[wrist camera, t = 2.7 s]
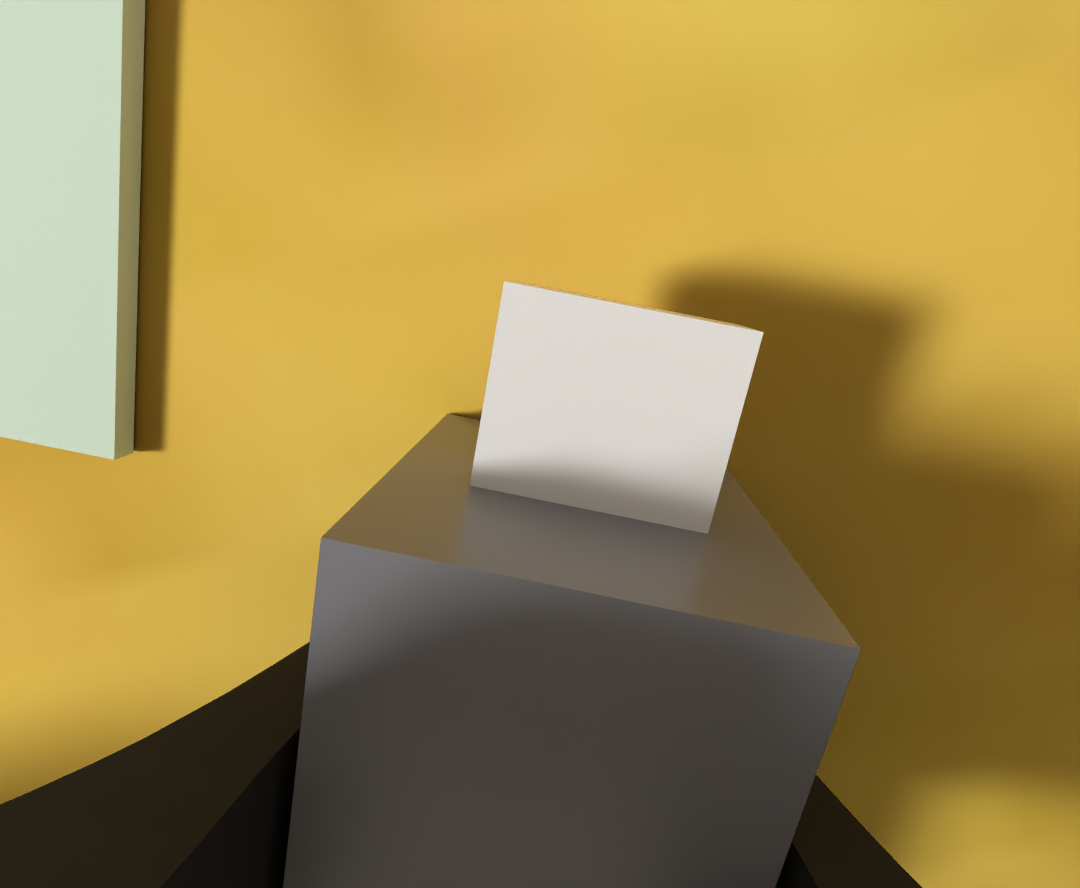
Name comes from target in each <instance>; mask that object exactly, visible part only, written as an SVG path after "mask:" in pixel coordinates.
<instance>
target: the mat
mask: <svg viewBox="0 0 1080 888" xmlns="http://www.w3.org/2000/svg"><path fill="white" fill-rule="evenodd" d="M144 31H145V0H0V437H5V438H10V439H15V440H20V441H25V442H30V443H35V444H40V445H44V446H49V447H54V448H59V449H64V450H69V451H74V452H79V453H83V454H88V455H93V456H98V457H103V458H108V459H113V460H115V459H118V458H120V457H123V456H125V455H128V454H131V453H133V445H134V408H135V370H136V332H137V295H138V257H139V219H140V182H141V144H142V106H143V69H144Z"/></svg>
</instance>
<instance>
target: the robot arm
mask: <svg viewBox="0 0 1080 888" xmlns="http://www.w3.org/2000/svg"><path fill="white" fill-rule="evenodd" d="M309 645H310V642H308V643H307V644H305V645H304V646H302V647H301V648H299V649H297V650H296V651H294V652H293V653H291V654H290V655H288V656H286V657H285V658H283V659H282V660H280V661H279V662H277V663H275V664H274V665H272V666H271V667H269V668H267V669H266V670H264V671H262V672H261V673H259V674H257V675H256V676H254V677H252V678H251V679H249V680H247V681H246V682H244V683H242V684H241V685H239V686H238V687H236V688H234V689H233V690H231V691H229V692H228V693H226V694H224V695H222V696H221V697H219V698H217V699H215V700H213V701H212V702H210V703H208V704H206V705H204V706H202V707H201V708H199V709H197V710H195V711H193V712H191V713H190V714H188V715H186V716H184V717H182V718H181V719H179V720H177V721H175V722H173V723H171V724H170V725H168V726H166V727H164V728H162V729H160V730H159V731H157V732H155V733H153V734H151V735H150V736H148V737H146V738H144V739H142V740H140V741H138V742H136V743H134V744H132V745H130V746H128V747H126V748H124V749H122V750H120V751H118V752H116V753H114V754H111V755H109V756H107V757H105V758H103V759H101V760H99V761H97V762H95V763H93V764H91V765H88V766H86V767H84V768H82V769H80V770H77V771H75V772H73V773H71V774H69V775H66V776H64V777H62V778H60V779H58V780H55V781H53V782H51V783H49V784H47V785H44V786H42V787H40V788H38V789H35V790H33V791H31V792H29V793H26V794H24V795H22V796H19V797H17V798H15V799H12V800H10V801H8V802H5V803H3V804H1V805H0V888H283V883H284V874H285V865H286V856H287V847H288V837H289V828H290V819H291V810H292V801H293V792H294V782H295V773H296V764H297V755H298V746H299V736H300V727H301V718H302V709H303V700H304V691H305V681H306V672H307V663H308V654H309ZM775 888H922V887H921V886H920V885H919V884H918V883H917V882H916V881H915V880H914V879H913V878H912V877H911V876H910V875H909V874H908V873H907V872H906V871H905V870H904V869H903V868H902V867H901V866H900V865H899V864H898V863H897V862H896V861H895V860H894V859H893V858H892V856H891V855H890V854H889V853H888V852H887V851H886V850H885V849H884V848H883V847H882V846H881V845H880V844H879V843H878V842H877V841H876V840H875V839H874V838H873V836H872V835H871V834H870V833H869V832H868V831H867V830H866V829H865V828H864V827H863V826H862V825H861V824H860V823H859V821H858V820H857V819H856V818H855V817H854V816H853V815H852V814H851V813H850V812H849V811H848V809H847V808H846V807H845V806H844V805H843V804H842V803H841V802H840V801H839V800H838V798H837V797H836V796H835V795H834V794H833V793H832V792H831V791H830V790H829V788H828V787H827V786H826V785H825V784H824V783H823V782H822V781H821V780H820V778H819V777H818V776H817V775H815V778H814V781H813V784H812V786H811V789H810V792H809V795H808V798H807V800H806V803H805V806H804V809H803V811H802V814H801V817H800V820H799V822H798V825H797V828H796V831H795V834H794V836H793V839H792V842H791V845H790V847H789V850H788V853H787V856H786V859H785V861H784V864H783V867H782V870H781V872H780V875H779V878H778V881H777V883H776V886H775Z"/></svg>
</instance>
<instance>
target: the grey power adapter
mask: <svg viewBox="0 0 1080 888" xmlns="http://www.w3.org/2000/svg"><path fill="white" fill-rule="evenodd" d="M763 333H764V332H761V331H758V330H755V329H752V328H748V327H745V326H742V325H739V324H733V323H728V322H723V321H718V320H713V319H708V318H703V317H698V316H693V315H688V314H683V313H677V312H672V311H667V310H662V309H657V308H652V307H647V306H642V305H637V304H632V303H627V302H621V301H616V300H611V299H606V298H601V297H596V296H591V295H586V294H581V293H576V292H571V291H566V290H560V289H555V288H550V287H545V286H540V285H535V284H530V283H525V282H520V281H504V285H503V291H502V297H501V303H500V309H499V314H498V320H497V326H496V332H495V338H494V344H493V350H492V356H491V362H490V368H489V373H488V379H487V385H486V391H485V397H484V403H483V409H482V415H481V420H478V419H473V418H468V417H463V416H458V415H453V414H447V415H446V416H445V417H444V418H443V419H442V420H441V421H440V422H439V423H438V424H437V425H436V426H435V427H434V428H433V429H432V430H431V431H430V432H429V433H428V434H427V435H426V436H424V437H423V438H422V439H421V440H420V441H419V442H418V443H417V444H416V445H415V446H414V447H413V448H412V449H411V450H410V451H409V452H408V453H407V454H406V455H405V456H404V457H403V458H402V459H401V460H400V461H399V462H398V463H397V464H396V465H395V466H394V467H393V468H392V469H391V470H390V471H389V472H388V473H387V474H386V475H385V476H384V477H383V478H382V479H381V480H380V481H379V482H378V483H376V484H375V485H374V486H373V487H372V488H371V489H370V490H369V491H368V492H367V493H366V494H365V495H364V496H363V497H362V498H361V499H360V500H359V501H358V502H357V503H356V504H355V505H354V506H353V507H352V508H351V509H350V510H349V511H348V512H347V513H346V514H345V515H344V516H343V517H342V518H341V519H340V520H339V521H338V522H337V523H336V524H335V525H334V526H333V527H332V528H331V529H329V530H328V531H327V532H326V533H325V534H324V535H323V536H322V537H321V544H320V553H319V562H318V571H317V581H316V590H315V599H314V608H313V617H312V626H311V636H310V645H309V654H308V663H307V672H306V681H305V691H304V700H303V709H302V718H301V727H300V736H299V746H298V755H297V764H296V773H295V782H294V792H293V801H292V810H291V819H290V828H289V837H288V847H287V856H286V865H285V874H284V883H283V888H775V886H776V883H777V881H778V878H779V875H780V872H781V870H782V867H783V864H784V861H785V859H786V856H787V853H788V850H789V847H790V845H791V842H792V839H793V836H794V834H795V831H796V828H797V825H798V822H799V820H800V817H801V814H802V811H803V809H804V806H805V803H806V800H807V798H808V795H809V792H810V789H811V786H812V784H813V781H814V778H815V775H816V773H817V770H818V767H819V764H820V761H821V759H822V756H823V753H824V750H825V748H826V745H827V742H828V739H829V736H830V734H831V731H832V728H833V725H834V723H835V720H836V717H837V714H838V712H839V709H840V706H841V703H842V700H843V698H844V695H845V692H846V689H847V687H848V684H849V681H850V678H851V675H852V673H853V670H854V667H855V664H856V662H857V659H858V656H859V653H860V651H861V648H860V647H859V645H858V644H857V642H856V641H855V640H854V638H853V637H852V636H851V634H850V633H849V632H848V630H847V629H846V628H845V626H844V625H843V624H842V622H841V621H840V619H839V618H838V617H837V615H836V614H835V613H834V611H833V610H832V609H831V607H830V606H829V605H828V603H827V602H826V601H825V599H824V598H823V597H822V595H821V594H820V592H819V591H818V590H817V588H816V587H815V586H814V584H813V583H812V582H811V580H810V579H809V578H808V576H807V575H806V574H805V572H804V571H803V570H802V568H801V567H800V565H799V564H798V563H797V561H796V560H795V559H794V557H793V556H792V555H791V553H790V552H789V551H788V549H787V548H786V547H785V545H784V544H783V542H782V541H781V540H780V538H779V537H778V536H777V534H776V533H775V532H774V530H773V529H772V528H771V526H770V525H769V524H768V522H767V521H766V520H765V518H764V517H763V515H762V514H761V513H760V511H759V510H758V509H757V507H756V506H755V505H754V503H753V502H752V501H751V499H750V498H749V497H748V495H747V494H746V493H745V491H744V490H743V488H742V487H741V486H740V484H739V483H738V482H737V480H736V479H735V478H734V476H733V475H732V474H731V472H730V471H729V470H726V467H727V463H728V460H729V456H730V452H731V449H732V445H733V441H734V438H735V434H736V431H737V427H738V423H739V420H740V416H741V413H742V409H743V405H744V402H745V398H746V394H747V391H748V387H749V384H750V380H751V376H752V373H753V369H754V365H755V362H756V358H757V355H758V351H759V347H760V344H761V340H762V337H763Z"/></svg>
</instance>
